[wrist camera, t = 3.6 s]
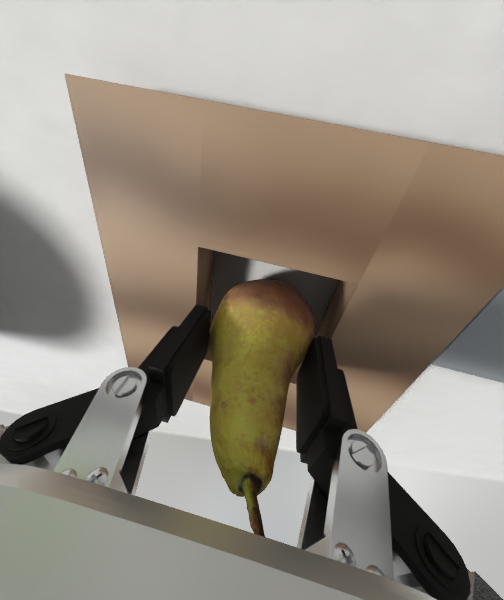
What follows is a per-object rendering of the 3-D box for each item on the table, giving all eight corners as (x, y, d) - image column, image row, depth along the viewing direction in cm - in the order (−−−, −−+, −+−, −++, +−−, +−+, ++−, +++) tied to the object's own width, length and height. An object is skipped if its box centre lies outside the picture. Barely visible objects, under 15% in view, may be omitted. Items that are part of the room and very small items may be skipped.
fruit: (213, 272, 13) (-52, 581, 3) (305, 255, 12) (365, 771, 2) (237, 339, 16) (133, 631, 6) (316, 333, 14) (365, 722, 4)
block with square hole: (115, 95, 10) (64, 73, 7) (528, 175, 8) (606, 175, 6) (150, 360, 19) (131, 383, 17) (346, 415, 18) (352, 446, 16)
